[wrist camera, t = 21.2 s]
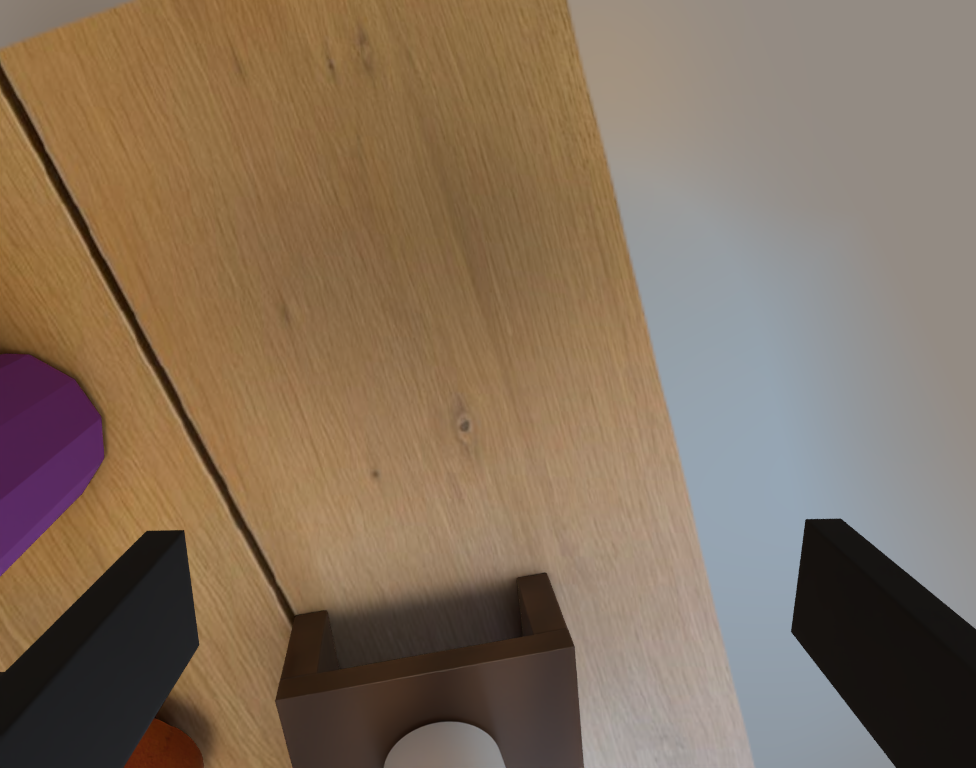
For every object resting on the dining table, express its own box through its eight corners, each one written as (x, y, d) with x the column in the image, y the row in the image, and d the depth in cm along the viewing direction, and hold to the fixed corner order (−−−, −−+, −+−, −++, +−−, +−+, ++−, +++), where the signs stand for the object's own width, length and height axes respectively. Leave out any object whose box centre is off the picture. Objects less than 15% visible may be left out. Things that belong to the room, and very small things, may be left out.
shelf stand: (546, 572, 42) (574, 646, 36) (560, 729, 46) (588, 822, 40) (294, 615, 41) (274, 700, 34) (332, 773, 45) (320, 877, 38)
